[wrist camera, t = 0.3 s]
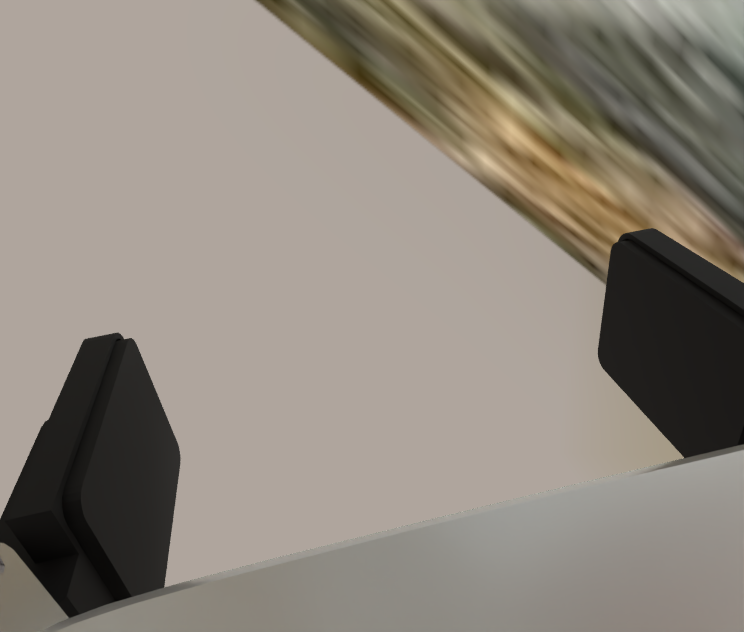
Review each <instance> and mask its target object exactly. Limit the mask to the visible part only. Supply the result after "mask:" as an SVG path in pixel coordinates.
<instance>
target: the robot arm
mask: <svg viewBox="0 0 744 632" xmlns="http://www.w3.org/2000/svg"><path fill="white" fill-rule="evenodd" d="M598 358H599V361H600V364H601V366H602V368H603V369H604V370H605V371H606V372H607V373H608V375H609V376H610V377H611V378H612V379H613V380H614V381H615V382H616V383H617V384H618V386H619V387H620V388H621V389H622V390H623V391H624V392H625V393H626V394H627V395H628V396H629V397H630V399H631V400H632V401H633V402H634V403H635V404H636V405H637V406H638V407H639V408H640V410H641V411H642V412H643V413H644V414H645V415H646V416H647V417H648V418H649V419H650V421H651V422H652V423H653V424H654V425H655V426H656V427H657V428H658V429H659V430H660V431H661V432H662V434H663V435H664V436H665V437H666V438H667V439H668V440H669V441H670V442H671V443H672V445H673V446H674V447H675V448H676V449H677V450H678V451H679V452H680V453H681V454H682V456H683V457H684V459H679V460H675V461H671V462H667V463H663V464H659V465H654V466H650V467H646V468H642V469H637V470H634V471H629V472H625V473H621V474H616V475H612V476H608V477H604V478H599V479H595V480H591V481H587V482H583V483H579V484H575V485H571V486H566V487H562V488H558V489H554V490H550V491H546V492H542V493H538V494H534V495H529V496H525V497H521V498H517V499H513V500H509V501H505V502H501V503H497V504H493V505H488V506H484V507H480V508H477V509H472V510H468V511H464V512H460V513H456V514H451V515H447V516H443V517H439V518H435V519H431V520H427V521H423V522H419V523H415V524H411V525H407V526H403V527H399V528H395V529H391V530H387V531H383V532H379V533H375V534H371V535H367V536H363V537H359V538H355V539H351V540H347V541H343V542H339V543H335V544H331V545H327V546H323V547H318V548H315V549H310V550H306V551H303V552H298V553H295V554H290V555H286V556H283V557H278V558H274V559H270V560H267V561H263V562H259V563H255V564H251V565H247V566H243V567H240V568H236V569H232V570H228V571H224V572H221V573H217V574H213V575H210V576H205V577H201V578H198V579H194V580H190V581H187V582H183V583H179V584H176V585H172V586H169V587H165V588H164V584H165V577H166V569H167V561H168V553H169V546H170V537H171V530H172V523H173V514H174V506H175V499H176V492H177V484H178V476H179V469H180V451H179V446H178V443H177V441H176V438H175V436H174V434H173V431H172V429H171V426H170V424H169V421H168V419H167V417H166V414H165V412H164V409H163V407H162V405H161V402H160V400H159V397H158V395H157V393H156V390H155V388H154V385H153V383H152V381H151V378H150V376H149V373H148V371H147V369H146V366H145V364H144V361H143V359H142V357H141V354H140V352H139V349H138V347H137V345H136V343H135V341H134V340H133V339H132V338H129V339H124V338H123V337H122V335H121V334H119V333H113V334H109V335H104V336H98V337H94V338H88V339H85V340H84V341H83V343H82V345H81V347H80V350H79V352H78V354H77V356H76V359H75V361H74V363H73V365H72V368H71V370H70V372H69V374H68V377H67V379H66V381H65V383H64V386H63V388H62V390H61V393H60V395H59V397H58V399H57V402H56V404H55V406H54V409H53V411H52V413H51V416H50V418H49V420H47V421H46V422H45V423H44V424H43V426H42V427H41V429H40V432H39V434H38V436H37V438H36V440H35V443H34V445H33V447H32V449H31V451H30V454H29V456H28V458H27V460H26V463H25V465H24V467H23V469H22V472H21V474H20V476H19V478H18V481H17V483H16V485H15V487H14V490H13V492H12V494H11V496H10V498H9V501H8V503H7V505H6V508H5V510H4V512H3V514H2V516H1V519H0V632H744V283H743V282H741V281H739V280H738V279H736V278H734V277H733V276H731V275H730V274H728V273H726V272H725V271H723V270H721V269H720V268H718V267H717V266H715V265H713V264H712V263H710V262H708V261H707V260H705V259H704V258H702V257H700V256H699V255H697V254H695V253H694V252H692V251H691V250H689V249H687V248H686V247H684V246H682V245H681V244H679V243H678V242H676V241H674V240H673V239H671V238H669V237H668V236H666V235H665V234H663V233H661V232H660V231H658V230H656V229H653V228H651V229H645V230H640V231H635V232H630V233H625V234H623V235H622V236H621V237H620V238H619V240H618V242H616V243H615V244H613V246H612V249H611V254H610V261H609V269H608V277H607V285H606V293H605V300H604V308H603V316H602V323H601V331H600V339H599V347H598Z"/></svg>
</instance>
